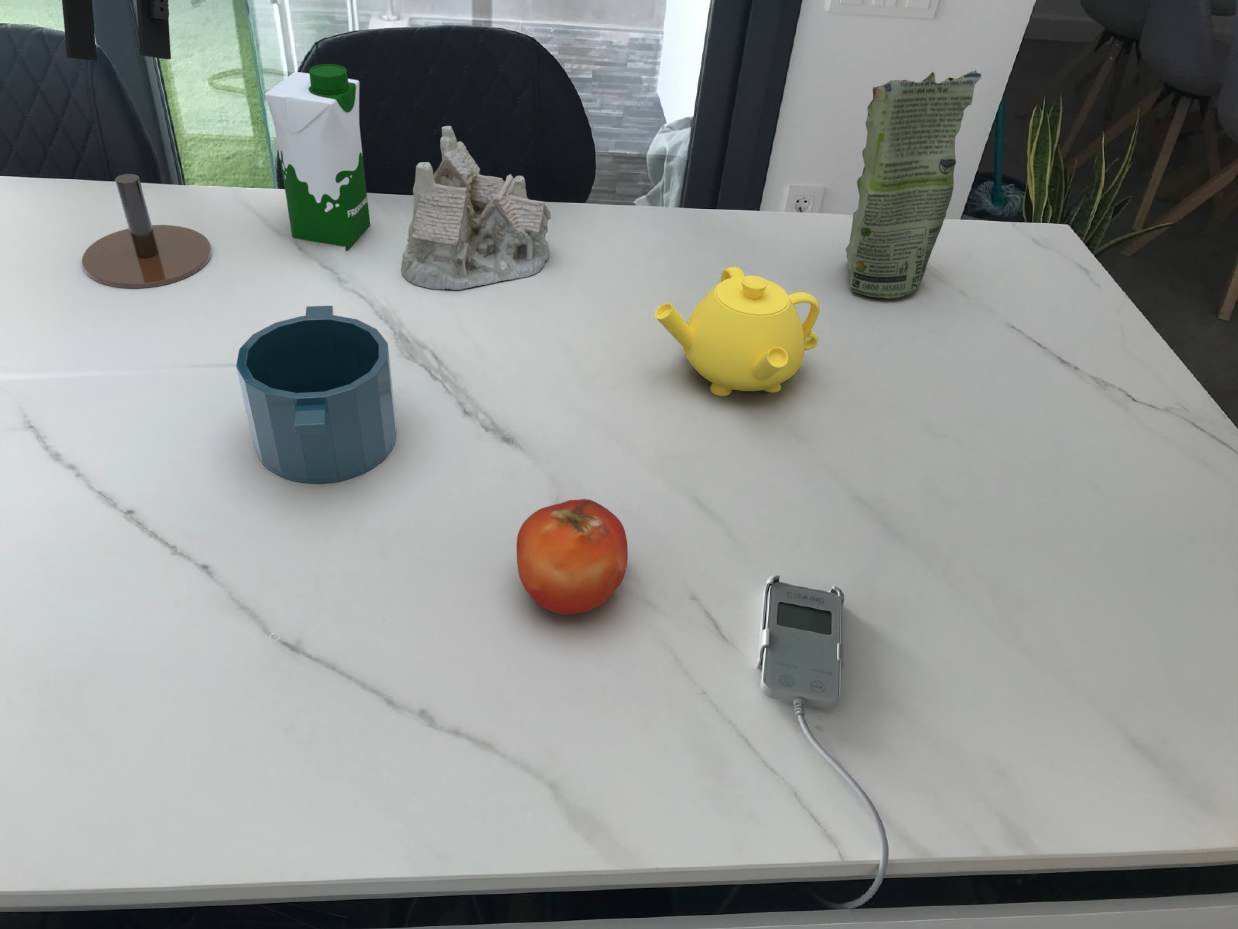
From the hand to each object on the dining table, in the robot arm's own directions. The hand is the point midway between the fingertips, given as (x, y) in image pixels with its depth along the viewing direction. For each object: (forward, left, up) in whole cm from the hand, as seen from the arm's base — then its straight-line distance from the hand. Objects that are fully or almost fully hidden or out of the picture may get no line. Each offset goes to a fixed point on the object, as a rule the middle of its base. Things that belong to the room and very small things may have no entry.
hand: (117, 58), depth 98 cm
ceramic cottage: (+35, -2, -23) cm, 42 cm away
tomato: (+39, -55, -23) cm, 72 cm away
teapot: (+60, -28, -23) cm, 70 cm away
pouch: (+84, -9, -23) cm, 88 cm away
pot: (+19, -34, -23) cm, 45 cm away
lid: (-2, 0, -22) cm, 22 cm away
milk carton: (+18, +6, -23) cm, 30 cm away
